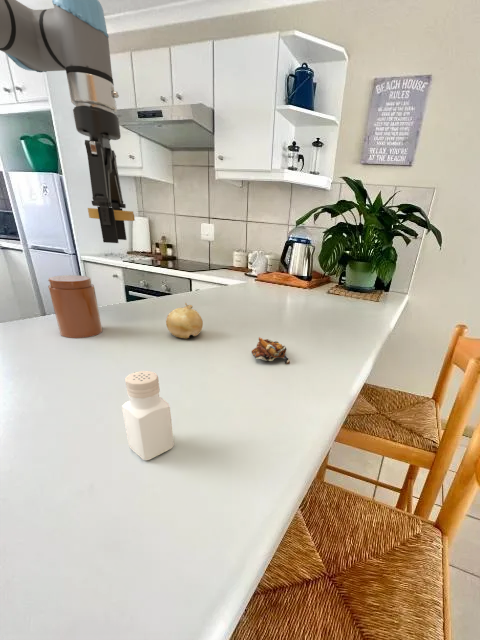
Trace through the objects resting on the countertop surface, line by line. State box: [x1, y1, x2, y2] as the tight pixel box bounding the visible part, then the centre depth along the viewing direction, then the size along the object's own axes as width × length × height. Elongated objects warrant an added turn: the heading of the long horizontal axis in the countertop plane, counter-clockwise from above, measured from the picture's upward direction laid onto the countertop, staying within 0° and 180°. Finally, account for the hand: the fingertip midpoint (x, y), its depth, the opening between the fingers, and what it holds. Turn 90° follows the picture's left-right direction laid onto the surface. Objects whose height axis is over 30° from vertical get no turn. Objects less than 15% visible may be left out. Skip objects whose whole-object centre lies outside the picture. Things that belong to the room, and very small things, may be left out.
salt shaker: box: [121, 370, 175, 461], centre depth 36 cm, size 4×4×10 cm
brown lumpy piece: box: [251, 336, 291, 365], centre depth 68 cm, size 7×12×4 cm, turn 15°
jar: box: [47, 274, 103, 339], centre depth 69 cm, size 8×8×12 cm
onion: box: [165, 302, 204, 339], centre depth 73 cm, size 8×8×7 cm
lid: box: [87, 207, 136, 222], centre depth 69 cm, size 9×9×2 cm
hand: (115, 240), depth 71 cm, fingers closed on lid, 9 cm apart
